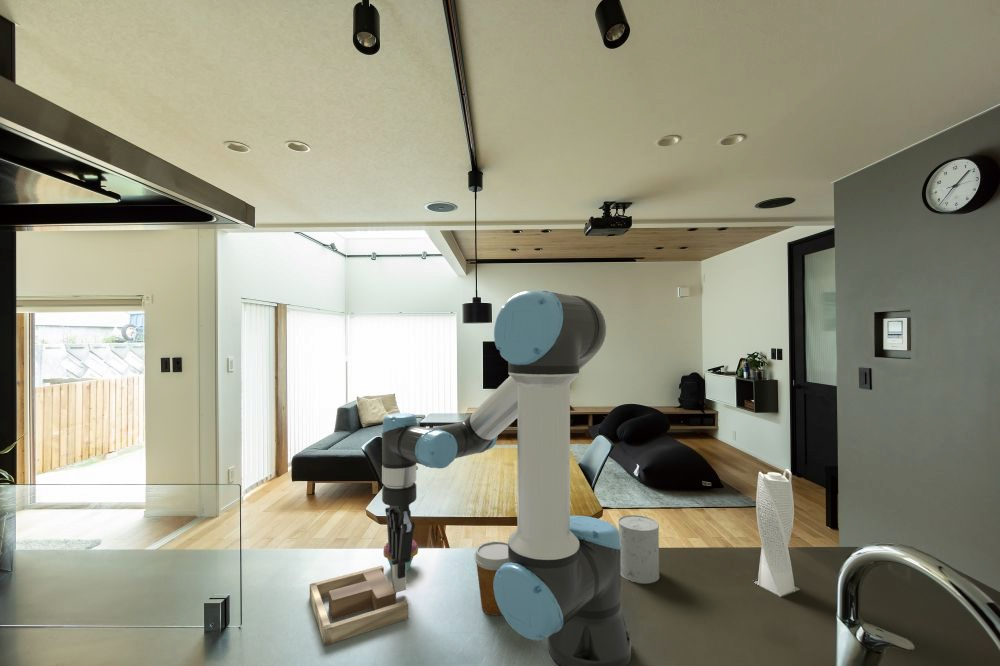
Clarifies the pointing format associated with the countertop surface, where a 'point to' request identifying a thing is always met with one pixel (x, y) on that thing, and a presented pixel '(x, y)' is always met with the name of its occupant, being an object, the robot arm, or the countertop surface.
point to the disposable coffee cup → (490, 572)
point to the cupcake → (413, 553)
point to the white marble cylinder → (639, 548)
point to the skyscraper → (775, 532)
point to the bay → (353, 624)
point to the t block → (362, 595)
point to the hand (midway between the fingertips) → (399, 589)
